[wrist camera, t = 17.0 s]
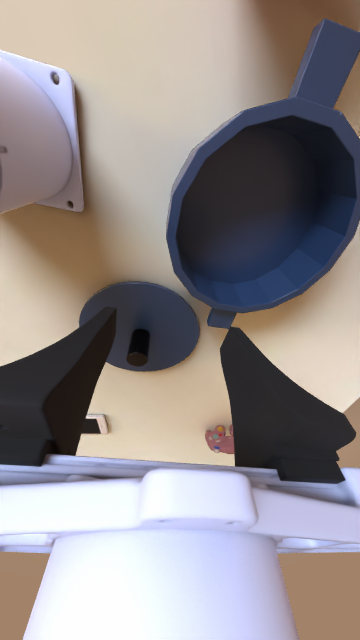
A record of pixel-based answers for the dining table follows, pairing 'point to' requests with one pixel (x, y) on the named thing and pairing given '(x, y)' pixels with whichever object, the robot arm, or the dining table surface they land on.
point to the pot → (271, 191)
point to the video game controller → (220, 440)
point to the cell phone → (95, 425)
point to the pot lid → (146, 325)
